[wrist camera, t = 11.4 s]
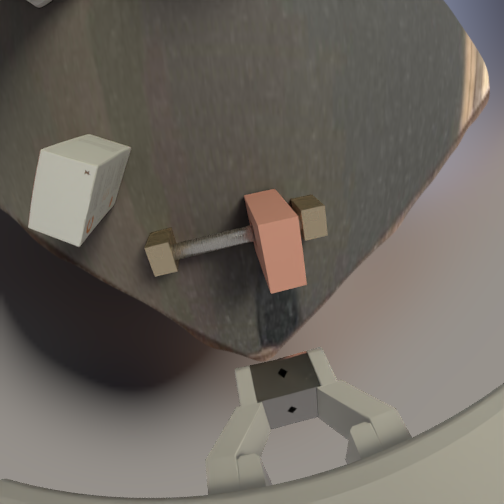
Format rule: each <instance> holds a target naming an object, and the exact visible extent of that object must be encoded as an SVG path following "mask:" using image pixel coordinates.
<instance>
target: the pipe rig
mask: <svg viewBox="0 0 504 504" xmlns="http://www.w3.org/2000/svg"><path fill="white" fill-rule="evenodd" d="M291 206H292V210H293V211H294V212H295V213H296V214H297V215H298V219H299V226H300V234H301V236H302V237H303V239H304V240H305V241H306V240H310V239H314V238H319V237H323V236H327V224H326V214H325V205H323V204H322V203H321V202H320V201H319V200H318V199H316V198H315V197H314V196H313V195H307V196H303V197H298V198H293V199H291ZM253 241H256V239H255V234H254V229H253V225H250V226H245V227H241V228H237V229H233V230H229V231H224V232H220V233H216V234H212V235H208V236H204V237H200V238H196V239H192V240H188V241H183V242H179V243H176V240H175V237H174V234H173V231H172V227H171V228H167V229H163V230H159V231H155V232H152V233H150V235H149V237H148V240H147V243H146V245H145V248H144V249H145V251H146V254H147V257H148V260H149V262H150V265H151V268H152V270H153V273H154V275H155V277H156V276H160V275H164V274H169V273H173V272H177V271H178V265H179V259H183V258H187V257H191V256H195V255H199V254H203V253H208V252H212V251H216V250H220V249H224V248H228V247H233V246H237V245H241V244H245V243H249V242H253Z"/></svg>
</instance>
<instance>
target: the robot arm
mask: <svg viewBox="0 0 504 504" xmlns="http://www.w3.org/2000/svg"><path fill="white" fill-rule="evenodd" d="M27 1H28V2H30V3H31V4H33V5H34V6H35V7H38V8H40V7H43V6H45V5H46V4H48V3H49V2H51V1H52V0H27ZM235 377H236V384H237V390H238V397H239V403H240V407H236V408H235V410H234V412H233V413H232V415H231V417H230V419H229V421H228V422H227V424H226V426H225V428H224V429H223V431H222V433H221V435H220V436H219V438H218V440H217V441H216V443H215V445H214V446H213V449H212V450H211V452H210V453H209V455H208V457H207V458H206V474H207V486H208V495H204V496H193V497H176V498H124V497H106V496H96V495H87V494H78V493H71V492H65V491H58V490H52V489H47V488H42V487H37V486H33V485H29V484H24V483H20V482H17V481H13V480H9V479H1V480H0V504H504V383H503V384H502V385H500V386H499V387H498V388H496V389H495V390H493V391H492V392H491V393H489V394H488V395H486V396H485V397H483V398H482V399H480V400H479V401H477V402H476V403H474V404H472V405H471V406H469V407H468V408H466V409H464V410H463V411H461V412H459V413H458V414H456V415H454V416H453V417H451V418H449V419H447V420H445V421H444V422H442V423H440V424H438V425H436V426H434V427H433V428H431V429H429V430H427V431H425V432H423V433H421V434H419V435H417V436H415V437H413V438H412V437H411V435H410V433H409V431H408V430H407V428H406V426H405V424H404V422H403V420H402V419H401V417H400V415H399V413H398V412H397V410H396V408H394V407H392V406H390V405H388V404H386V403H384V402H382V401H380V400H378V399H376V398H374V397H372V396H371V395H369V394H367V393H365V392H363V391H361V390H359V389H357V388H356V387H354V386H352V385H350V384H348V383H347V382H345V381H343V380H339V381H337V379H336V377H335V375H334V373H333V371H332V368H331V366H330V364H329V362H328V360H327V358H326V356H325V354H324V351H323V349H322V348H320V347H319V348H315V349H312V350H308V351H305V352H301V353H297V354H294V355H291V356H287V357H283V358H280V359H277V360H273V361H268V362H264V363H259V364H254V365H250V366H246V367H241V368H236V369H235ZM316 417H318V418H320V419H321V420H322V421H323V422H325V423H326V424H327V425H329V426H330V427H331V428H333V429H334V430H335V431H337V432H338V433H340V434H341V435H342V436H344V437H345V438H346V439H348V440H349V442H348V447H347V454H346V459H345V460H346V462H347V465H344V466H341V467H338V468H335V469H332V470H329V471H325V472H322V473H319V474H315V475H312V476H309V477H305V478H301V479H297V480H293V481H289V482H284V483H280V484H276V485H272V484H271V480H270V478H269V476H268V474H267V472H266V469H265V467H264V465H263V463H262V461H261V459H260V457H261V455H262V452H263V450H264V447H265V445H266V442H267V440H268V437H269V435H270V432H271V429H274V428H278V427H282V426H285V425H289V424H292V423H296V422H300V421H304V420H308V419H311V418H316Z"/></svg>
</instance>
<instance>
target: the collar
mask: <svg viewBox="0 0 504 504" xmlns="http://www.w3.org/2000/svg"><path fill="white" fill-rule="evenodd" d="M244 199H245V203H246V208H247V213H248V218H249V223H250V225H253V229H254V234H255V239H256V241H253V242H254V247H255V251H256V254H257V257H258V259H259V262H260V265H261V268H262V270H263V273H264V276H265V279H266V281H267V284H268V287H269V290H270V292H271V294H272V293H276V292H280V291H284V290H287V289H291V288H295V287H299V286H303V285H307V283H306V274H305V266H304V258H303V249H302V242H301V234H300V226H299V219H298V215H297V214H296V213H295V212H294V211H293V210H292V208H291V207H290V206H289V205H288V204H287V203H286V201H285V200H284V199H283V198H282V197H281V196H280V194H279V193H278V192H277V191H276V190H275V189H271V190H267V191H262V192H257V193H253V194H249V195H244Z"/></svg>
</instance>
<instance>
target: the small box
mask: <svg viewBox="0 0 504 504" xmlns="http://www.w3.org/2000/svg"><path fill="white" fill-rule="evenodd" d="M130 151H131V147H129V146H126V145H122V144H119V143H116V142H113V141H109V140H106V139H103V138H100V137H97V136H93V135H90V134H87V135H84V136H80V137H77V138H73V139H70V140H67V141H64V142H61V143H58V144H55V145H52V146H49V147H47V148H44V149H41V150H40V154H39V159H38V164H37V169H36V174H35V180H34V186H33V192H32V199H31V206H30V215H29V224H28V228H30V229H33V230H35V231H38V232H41V233H43V234H46V235H49V236H51V237H54V238H56V239H59V240H62V241H64V242H67V243H69V244H72V245H75V246H77V247H80V246H81V244H82V243H83V242H84V241H85V239H86V238H87V237H88V236H89V234H90V233H91V232H92V231H93V229H94V228H95V227H96V226H97V225H98V223H99V222H100V221H101V220H102V218H103V217H104V216H105V215H106V214H107V212H108V211H109V210H110V209H111V208H112V207H113V206H114V205H115V201H116V198H117V194H118V191H119V187H120V184H121V180H122V177H123V174H124V170H125V167H126V164H127V161H128V157H129V154H130Z"/></svg>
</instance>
